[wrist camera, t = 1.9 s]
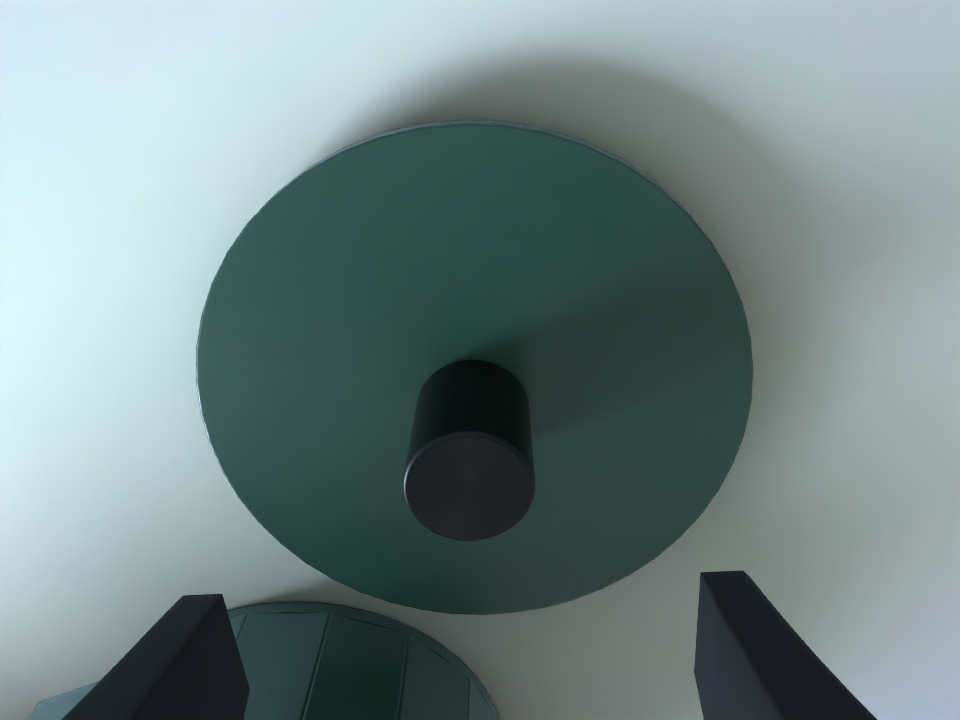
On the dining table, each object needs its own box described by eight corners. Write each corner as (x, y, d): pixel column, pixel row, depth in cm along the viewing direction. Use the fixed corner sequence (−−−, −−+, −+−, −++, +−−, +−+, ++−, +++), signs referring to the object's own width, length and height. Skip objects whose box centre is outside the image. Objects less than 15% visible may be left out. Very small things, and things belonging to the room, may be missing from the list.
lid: (366, 639, 23) (340, 775, 19) (102, 259, 18) (-9, 338, 14) (799, 496, 20) (870, 619, 16) (636, 4, 15) (684, 14, 11)
